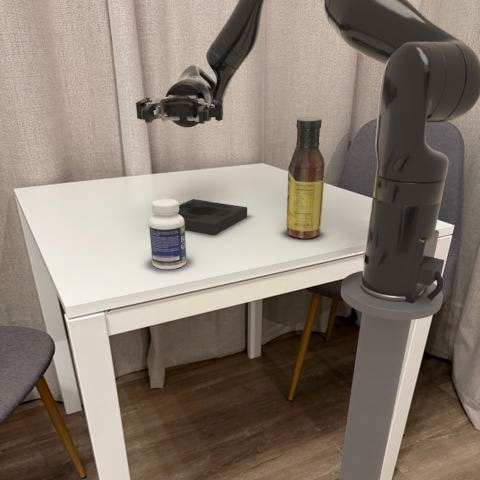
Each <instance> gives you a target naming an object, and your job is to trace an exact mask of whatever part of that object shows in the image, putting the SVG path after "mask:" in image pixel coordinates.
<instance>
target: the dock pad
mask: <svg viewBox="0 0 480 480" xmlns="http://www.w3.org/2000/svg"><path fill="white" fill-rule="evenodd" d="M178 214H179V215H181V216H182V217H183V219H184V223H185V231H190V232H195V233H200V234H201V233H202V234H208V235H213V236H216V235H217V234H219V233H220V232H223V231H224V230H226V229H228V228H229V227H231V226H234V225H235V224H237V223H239V222H241V221H242V220H244V219H245V218H248V206H243V205H242V206H241V205H235V204H228V203H222V202H215V201H209V200H201V199H195V198H192V199H189V200H187V201H185V202H183V203H179V212H178Z"/></svg>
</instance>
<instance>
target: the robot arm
mask: <svg viewBox="0 0 480 480" xmlns="http://www.w3.org/2000/svg"><path fill="white" fill-rule="evenodd" d="M318 1H319V2H320V3H321V4H322V12H323V16H324V18H325V20H326V21H327V23H328V25H329V26H330V28H331V29H332V31H333V32H334V33H335V34H336V35H337V36H338V38H340V40H341V41H342V42H343V43H344V44H345V45H347V46H348V47H349V48H350V49H352V50H353V51H355V52H357V53H359V54H361V56H362V55H363V56H365V57H367V58H369V59H371V60H374V61H376V62H378V63H381V64H383V65H384V68H383V72H382V75H381V79H380V85H379V93H378V104H377V105H378V107H377V120H376V129H375V130H376V132H375V142H374V148H375V149H374V150H375V158H376V168H375V169H376V170H375V177H374V184H373V185H374V186H373V192H372V200H371V207H370V215H369V221H368V229H367V237H366V244H365V249H364V250H363V255H362V257H363V258H362V259H363V260H362V261H363V266H362V270H361V271H362V279H361V283H360V287H361V289H362V290H363V291H364V292H365V293H367V294H368V295H370V296H373V297H375V298H378V299H382V300H387V301H397V302H409V303H414V302H415V301H416V300H417V299H418V298H420V297H421V296H422V295H423V294H424V293H425V292H426V291H427V289H428V286H430V285H431V284H432V283H434V282H436V285H437V286H436V288H435V289H434V290H433V291H432V292H431V293H430V294H429V295H428V296H427V298H428V299H430V300H432V299H433V298H434V297H436V296H437V295H438V294H439V293H440V292H441V291H443V288H444V280H443V277H442V273H443V270H444V269H443V268H444V263H445V259H442V258H439V257H435V256H436V255H435V254H436V250H437V245H438V242H439V241H438V240H439V237H440V231H439V230H438V229H436V228H437V224H438V219H439V214H440V210H441V209H440V208H441V203H442V199H443V195H444V189H445V186H446V180H447V177H448V170H449V165H450V159H449V158H448V156H447V155H446V154H445V153H443V152H441V151H438V150H435V149H433V148H431V147H430V145H428V143H427V141H426V132H427V131H426V130H427V124H429V123H442V122H449V121H452V120H455V119H458V118H460V117H462V116H465V115H466V114H468V113H469V112H470V111H471V110H472V109H473V108H474V107H475V106H476V105H477V103H478V101H479V99H480V59H479V57H478V55H477V53H476V52H475V51H474V49H473V48H472V47H471V46H470V45H468V43H466V42H465V41H462V40H461V39H459V38H457V37H456V36H454V35H453V34H451V33H450V32H448V31H446V30H445V29H443V28H442V27H440V26H438V25H436V24H435V23H434V22H432V21H431V20H429V18H428V17H426V16H425V15H424V14H423V13H421V12H420V10H418V9H417V8H416V7H415V5H413V4H412V3H411V2H410V1H409V0H318ZM265 3H266V0H238V1H237V3H236V4H235V6H234V9H233V10H232V12H231V14H230V15H229V18H227V20H226V22H225V23H224V24H223V26H222V28H221V29H220V31H219V32H218V34H217V35H216V37H215V38H214V39H213V41H212V42H211V43H210V45H209V47H208V49H207V50H206V53H205V60H206V63H207V64H208V66H209V67H210V69H211V70H212V72H213V73H214V76H215V78H216V80H215V79H213V77H211V76H210V74H209V73H207V72H206V71H205V70H204V68H202V67H201V66H199V65H197V64H195V63H194V64H189V65H187V66H186V67H184V68H183V69H182V70H181V72H180V74H179V75H178V77H177V79H176V83H174V84H172V86H170V87H169V89H168V90H167V92H166V94H165V96H164V97H157V98H155V100H154V101H153V99H152V98H150V97H145V98H142V99H140V100H138V101H136V102H135V109H136V119H138V120H142V121H144V122H145V123H146V124H151V123H152V122H153V121H154V120H157V121H160V122H167V121H171V122H172V123H174V125H176V126H179V127H181V128H193V127H196V126H198V125H203V124H205V123H206V122H210V121H212V118H214V120H215V121H217V122H221V121H223V118H224V101H225V98H226V95H227V93H228V90H229V87H230V85H231V83H232V81H233V79H234V77H235V75H236V74H237V73H238V71H239V69H240V68H241V67H242V66H243V64H244V63H245V62H246V60H247V59H248V57H249V56H250V55H251V53H252V52H253V50H254V48H255V47H256V45H257V42H258V40H259V37H260V33H261V27H262V20H263V13H264V8H265Z"/></svg>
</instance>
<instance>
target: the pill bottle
mask: <svg viewBox="0 0 480 480" xmlns="http://www.w3.org/2000/svg"><path fill="white" fill-rule="evenodd" d="M179 205H180V202H179V200H177V199H173V198H162V199H155V200H153V201H152V202H151V212H152V214H153V215H151V216H150V217H149V219H148V231H149V232H148V233H149V242H150V243H149V244H150V255H151V263H152V265H153V266H154V267H155V268H157V269H160V270H174V269H178V268H179V269H180V268H181V267H184V266H185V265H186V263H187V242H186V230H185V223H184V219H183V217H182V216H181V215H179V214H178V212H179Z"/></svg>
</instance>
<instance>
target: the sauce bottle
mask: <svg viewBox="0 0 480 480" xmlns="http://www.w3.org/2000/svg"><path fill="white" fill-rule="evenodd" d="M322 121H323V119H322V118H321V117H317V116H302V117H301V116H300V117H298V118H296V123H295V124H296V126H295V127H296V130H297V131H296V143H295V149H294V151H293V154H292V156H291V160H290V162H289V165H288V169H287V194H286V195H287V196H286V197H287V198H286V221H285V222H286V232H287V234H288V236H291V237H293V238H297V239H302V240H303V239H305V240H308V239H312V238H316V237H318V236H319V235H320V233H321V232H320V230H321V226H322V218H323V217H322V216H323V202H324V187H325V165H326V163H325V158H324V156H323V153H322V152H321V149H320V148H319V146H320V134H321V128H322Z"/></svg>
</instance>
